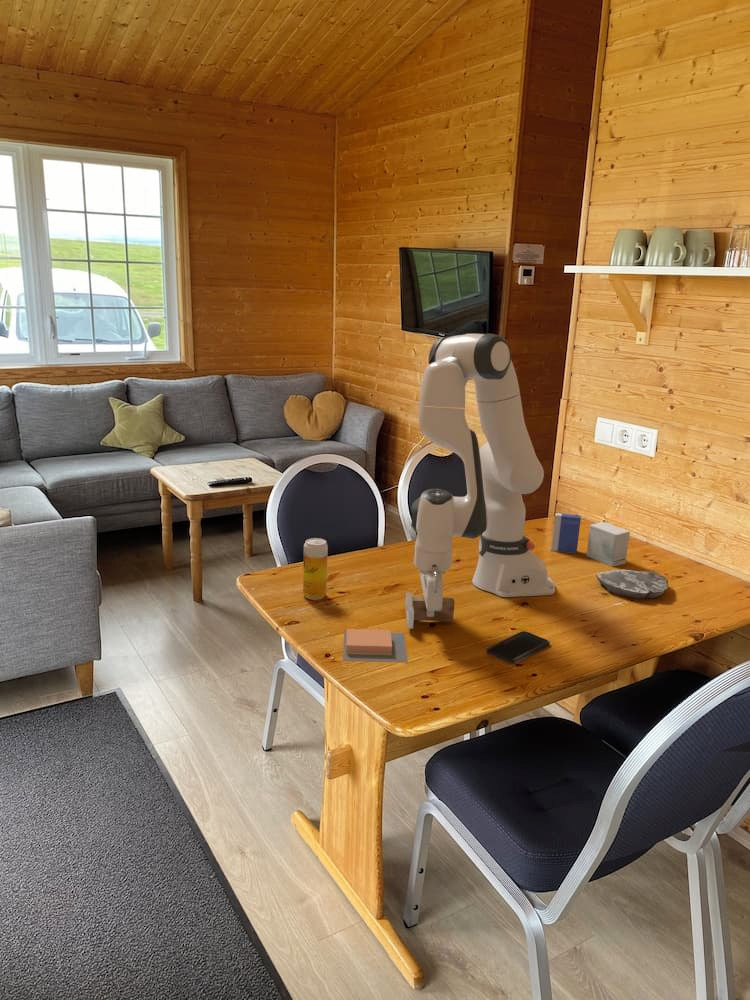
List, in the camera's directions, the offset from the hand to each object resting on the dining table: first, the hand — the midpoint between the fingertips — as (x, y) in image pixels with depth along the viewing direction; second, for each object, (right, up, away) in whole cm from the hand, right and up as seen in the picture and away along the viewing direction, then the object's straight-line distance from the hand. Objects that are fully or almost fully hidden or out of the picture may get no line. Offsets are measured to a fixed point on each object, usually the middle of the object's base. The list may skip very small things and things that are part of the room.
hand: (429, 612), depth 184 cm
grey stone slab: (+59, +2, +28) cm, 65 cm away
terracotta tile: (-9, -5, -12) cm, 16 cm away
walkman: (+46, +11, +56) cm, 74 cm away
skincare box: (+57, +8, +50) cm, 76 cm away
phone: (+20, -7, -9) cm, 23 cm away
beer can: (-29, +2, +14) cm, 32 cm away
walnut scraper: (0, -1, 0) cm, 2 cm away
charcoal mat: (-13, -6, -12) cm, 19 cm away
